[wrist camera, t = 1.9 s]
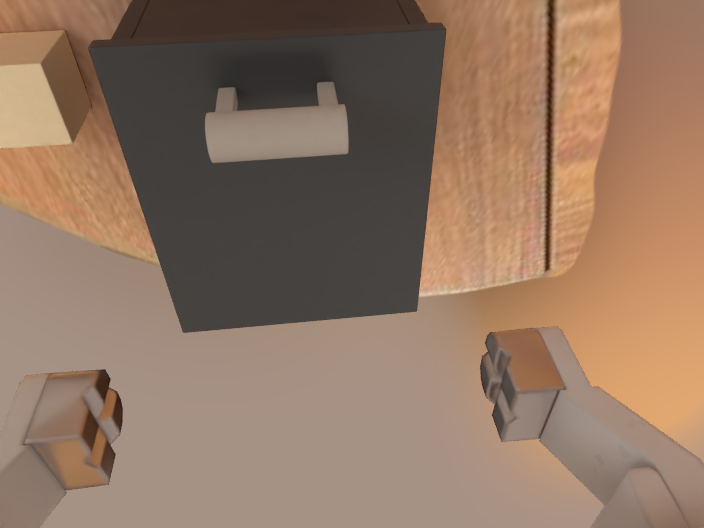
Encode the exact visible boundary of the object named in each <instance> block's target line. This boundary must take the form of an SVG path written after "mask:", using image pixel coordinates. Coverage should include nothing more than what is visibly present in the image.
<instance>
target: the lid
mask: <svg viewBox="0 0 704 528" xmlns="http://www.w3.org/2000/svg"><path fill="white" fill-rule="evenodd" d="M445 38H446V29H445V27H444V25H443V24H442V23H425V24H405V25H386V26H366V27H347V28H328V29H308V30H289V31H269V32H250V33H230V34H211V35H191V36H172V37H152V38H133V39H113V40H94V41H92V43H91V44H90V46H89V48H88V49H89V52H90V55H91V58H92V61H93V64H94V67H95V70H96V73H97V76H98V79H99V82H100V85H101V88H102V91H103V94H104V97H105V100H106V103H107V106H108V109H109V112H110V115H111V118H112V121H113V124H114V127H115V130H116V133H117V136H118V139H119V142H120V145H121V148H122V151H123V154H124V157H125V160H126V163H127V166H128V169H129V172H130V175H131V178H132V181H133V184H134V187H135V190H136V193H137V196H138V199H139V202H140V205H141V208H142V211H143V214H144V217H145V220H146V223H147V226H148V229H149V232H150V235H151V238H152V241H153V244H154V247H155V250H156V253H157V256H158V259H159V262H160V265H161V268H162V271H163V274H164V277H165V279H166V283H167V286H168V289H169V292H170V295H171V298H172V301H173V303H174V307H175V310H176V313H177V315H178V319H179V322H180V325H181V328H182V331H183V332H184V333H187V332H198V331H209V330H220V329H231V328H242V327H253V326H264V325H274V324H284V323H297V322H307V321H317V320H329V319H340V318H351V317H362V316H373V315H383V314H395V313H405V312H416V311H417V306H418V296H419V287H420V277H421V268H422V258H423V249H424V239H425V229H426V220H427V210H428V201H429V191H430V181H431V172H432V162H433V153H434V143H435V133H436V124H437V114H438V105H439V95H440V85H441V76H442V66H443V57H444V47H445Z"/></svg>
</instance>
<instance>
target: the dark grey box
mask: <svg viewBox="0 0 704 528" xmlns="http://www.w3.org/2000/svg"><path fill="white" fill-rule="evenodd" d="M425 23H428V22H427V20H426V18H425V17H424V15H423V13H422V12H421V10H420V8H419V7H418V5H417V3H416V1H415V0H132V1H131V3H130V5H129V7H128V9H127V11H126V12H125V14H124V16H123V18H122V20H121V22H120V24H119V26H118V27H117V29H116V31H115V33H114V35H113V37H112V39H111V40H113V39H133V38H152V37H172V36H191V35H211V34H230V33H250V32H269V31H289V30H308V29H328V28H347V27H366V26H386V25H405V24H425Z"/></svg>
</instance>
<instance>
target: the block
mask: <svg viewBox="0 0 704 528" xmlns="http://www.w3.org/2000/svg"><path fill="white" fill-rule="evenodd" d="M90 108H91V103H90V100H89V97H88V94H87V91H86V89H85V86H84V83H83V80H82V77H81V75H80V72H79V69H78V66H77V63H76V60H75V58H74V55H73V52H72V49H71V46H70V44H69V41H68V38H67V35H66V32H65V30H55V31H35V32H15V33H0V149H4V148H19V147H35V146H50V145H65V144H73V142H74V140H75V138H76V136H77V134H78V132H79V130H80V128H81V126H82V124H83V122H84V120H85V118H86V116H87V114H88V112H89V110H90Z"/></svg>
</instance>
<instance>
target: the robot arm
mask: <svg viewBox="0 0 704 528" xmlns="http://www.w3.org/2000/svg"><path fill="white" fill-rule="evenodd" d="M485 344H486V347H487V350H488V352H487V353H486V354H484V355H483V356H482V360H481V365H480V370H481V381H482V386H483V389H484V393H485V396H486V398H487V399H489V400H490V401H491V402H492V403H494V404H495V406H494V410H493V414H492V416H493V419H494V422H495V425H496V427H497V431H498V433H499V436H500V439H501V442H507V441H519V440H530V439H540V442H541V443H542V444H543V445H544V446H545V447H546V448H547V449H548V450H549V451H550V452H551V453H552V454H553V455H554V456H555V457H556V458H557V459H558V460H559V461H561V463H562V464H563V465H564V466H565V467H566V468H567V469H568V470H569V471H570V472H572V474H573V475H574V476H575V477H576V478H577V479H578V480H579V481H581V482H582V483H583V484H584V485H585V486H586V487H587V488H588V489H589V490H590V491H591V492H592V493H593V494H594V495H595V496H596V497H597V498H598V499H599V500H600V501H601V502H602V503H603V504H604V505H605V506H604V507H603V509H602V511H601V512H600V514H599V515H598V517H597V518H596V520H595V521H594V523H593V525H592V526H591V528H704V464H703V462H702V461H701V459H699V458H698V457H697V456H695V455H694V454H692V453H691V452H690V451H688V450H687V449H685V448H684V447H683V446H681V445H680V444H678V443H677V442H675V441H674V440H673V439H671V438H670V437H668V436H667V435H666V434H664V433H663V432H661V431H660V430H659V429H657V428H656V427H655V426H653V425H652V424H650V423H649V422H647V421H646V420H645V419H643V418H642V417H640V416H639V415H638V414H636V413H635V412H633V411H632V410H631V409H629V408H628V407H626V406H625V405H624V404H622V403H621V402H619V401H618V400H616V399H615V398H614V397H612V396H611V395H610V394H608V393H607V392H605V391H604V390H602V389H601V388H600V387H591V385H590V383H589V381H588V379H587V377H586V376H585V373H584V371H583V369H582V368H581V366H580V364H579V362H578V360H577V358H576V356H575V354H574V352H573V350H572V348H571V347H570V345H569V343H568V341H567V339H566V337H565V335H564V333H563V331H562V330H561V329H560V328H559V327H558V326H553V327H542V328H526V329H517V330H508V331H498V332H490V333H489V334H488V336H487V339H486V342H485ZM109 383H110V377H109V375H108V374H107V372H106V370H91V371H75V372H60V373H47V374H36V375H26V376H25V377H24V379H23V380H22V381H21V382H20V383H19V386H18V389H17V391H16V393H15V396H14V398H13V401H12V403H11V406H10V408H9V411H8V413H7V415H6V418H5V420H4V423H3V425H2V428H1V430H0V528H40V526H41V525H42V524H43V523H44V521H45V520H46V519H47V517H48V516H49V515H50V514H51V512H52V511H53V510H54V508H55V507H56V506H57V504H58V503H59V502H60V501H61V499H62V498H63V497H64V496H65V494H66V493H67V492H66V491H65V490H72V489H79V488H87V487H95V486H101V485H109V481H110V477H111V472H112V468H113V464H114V459H115V453H114V451H113V449H112V447H111V446H110V445H111V444H112V443H113V442H114V441H115V440H116V439H117V437H118V436H119V435H120V432H121V427H122V416H123V415H122V414H123V413H122V412H123V410H122V409H123V408H122V403H121V399H120V397H119V395H118V393H117V391H115V390H113V389H111V388H109Z"/></svg>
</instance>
